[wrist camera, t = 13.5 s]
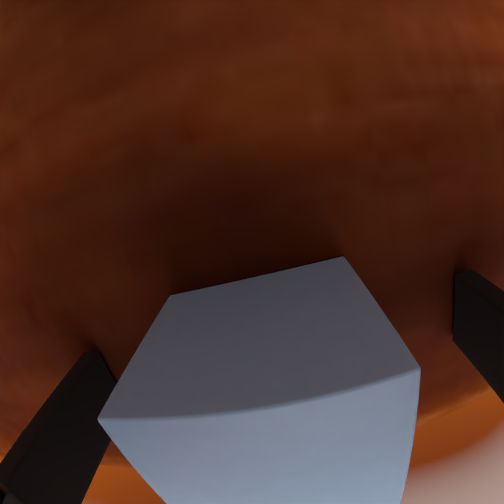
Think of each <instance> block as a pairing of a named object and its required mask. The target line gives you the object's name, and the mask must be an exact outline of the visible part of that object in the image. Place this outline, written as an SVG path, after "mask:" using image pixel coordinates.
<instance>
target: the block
mask: <svg viewBox="0 0 504 504" xmlns="http://www.w3.org/2000/svg"><path fill="white" fill-rule="evenodd" d="M420 374H421V368H420V367H419V365H418V363H417V362H416V360H415V359H414V357H413V356H412V354H411V352H410V351H409V349H408V348H407V346H406V345H405V343H404V342H403V340H402V339H401V337H400V336H399V334H398V333H397V331H396V330H395V328H394V327H393V325H392V324H391V322H390V321H389V319H388V318H387V316H386V315H385V313H384V312H383V310H382V309H381V308H380V306H379V305H378V303H377V302H376V300H375V299H374V298H373V296H372V295H371V293H370V292H369V290H368V289H367V288H366V286H365V285H364V283H363V282H362V281H361V279H360V278H359V276H358V275H357V274H356V272H355V271H354V269H353V268H352V267H351V265H350V264H349V263H348V261H347V260H346V259H345V257H343V256H342V257H338V258H334V259H330V260H326V261H321V262H317V263H313V264H309V265H305V266H300V267H296V268H292V269H287V270H283V271H279V272H275V273H270V274H266V275H261V276H257V277H253V278H248V279H244V280H239V281H235V282H230V283H226V284H221V285H217V286H212V287H207V288H203V289H198V290H193V291H189V292H184V293H179V294H175V295H170V296H169V298H168V299H167V301H166V303H165V304H164V306H163V307H162V309H161V311H160V312H159V314H158V315H157V317H156V319H155V320H154V322H153V324H152V325H151V327H150V329H149V330H148V332H147V333H146V335H145V337H144V338H143V340H142V342H141V343H140V345H139V347H138V348H137V350H136V352H135V354H134V355H133V357H132V359H131V360H130V362H129V364H128V365H127V367H126V369H125V371H124V372H123V374H122V376H121V377H120V379H119V381H118V383H117V384H116V386H115V388H114V390H113V391H112V393H111V395H110V397H109V398H108V400H107V402H106V404H105V405H104V407H103V409H102V411H101V413H100V414H99V416H98V422H99V423H100V424H101V426H102V427H103V429H104V430H105V431H106V433H107V434H108V435H109V437H110V438H111V439H112V441H113V442H114V443H115V445H116V446H117V447H118V449H119V450H120V451H121V452H122V454H123V455H124V456H125V457H126V459H127V460H128V461H129V462H130V463H131V465H132V466H133V467H134V468H135V469H136V471H137V472H138V473H139V474H140V475H141V476H142V477H143V479H144V480H145V481H146V482H147V483H148V484H149V485H150V486H151V488H152V489H153V490H154V491H155V492H156V493H157V494H158V495H159V496H160V497H161V498H162V499H163V500H164V501H165V502H166V503H167V504H401V500H402V496H403V492H404V487H405V483H406V478H407V473H408V468H409V462H410V457H411V451H412V445H413V438H414V432H415V425H416V417H417V408H418V399H419V388H420Z"/></svg>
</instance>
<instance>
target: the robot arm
mask: <svg viewBox="0 0 504 504" xmlns="http://www.w3.org/2000/svg"><path fill="white" fill-rule="evenodd" d="M453 341H454V342H455V344H456V345H457V346H458V347H459V348H460V349H461V351H462V352H463V353H464V354H465V355H466V357H467V358H468V359H469V360H470V361H471V363H472V364H473V365H474V366H475V367H476V369H477V370H478V371H479V372H480V374H481V375H482V376H483V377H484V378H485V380H486V381H487V382H488V384H489V385H490V386H491V387H492V389H493V390H494V391H495V392H496V394H497V395H498V396H499V398H500V399H501V400H502V401H503V403H504V291H503V290H501V289H500V288H498V287H497V286H495V285H494V284H492V283H491V282H490V281H488V280H487V279H485V278H484V277H482V276H481V275H479V274H478V273H476V272H475V271H473V270H472V269H471V270H468V271H465V272H462V273H459V274H456V275H455V305H454V326H453ZM115 386H116V383H115V381H114V380H113V378H112V376H111V374H110V372H109V371H108V369H107V367H106V365H105V363H104V361H103V359H102V357H101V356H100V354H99V352H89V353H83V355H82V356H81V357H80V358H79V360H78V361H77V362H76V363H75V365H74V366H73V367H72V368H71V370H70V371H69V372H68V373H67V375H66V376H65V377H64V378H63V380H62V381H61V382H60V384H59V385H58V386H57V387H56V389H55V390H54V391H53V393H52V394H51V395H50V396H49V398H48V399H47V400H46V402H45V403H44V404H43V406H42V407H41V408H40V410H39V411H38V412H37V414H36V415H35V416H34V418H33V419H32V420H31V422H30V423H29V424H28V426H27V427H26V429H24V431H23V432H22V433H21V435H20V436H19V438H18V439H17V441H16V442H15V443H14V445H13V446H12V448H11V449H10V450H9V452H8V453H7V455H6V456H5V457H4V459H3V460H2V462H1V463H0V504H81V503H82V501H83V499H84V497H85V494H86V492H87V490H88V488H89V486H90V483H91V481H92V479H93V477H94V475H95V473H96V470H97V468H98V466H99V464H100V462H101V460H102V458H103V456H104V453H105V451H106V449H107V447H108V445H109V443H110V441H111V438H110V437H109V435H108V434H107V433H106V431H105V430H104V429H103V427H102V426H101V424H100V423H99V422H98V416H99V414H100V413H101V411H102V409H103V407H104V405H105V404H106V402H107V400H108V398H109V397H110V395H111V393H112V391H113V390H114V388H115Z"/></svg>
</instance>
